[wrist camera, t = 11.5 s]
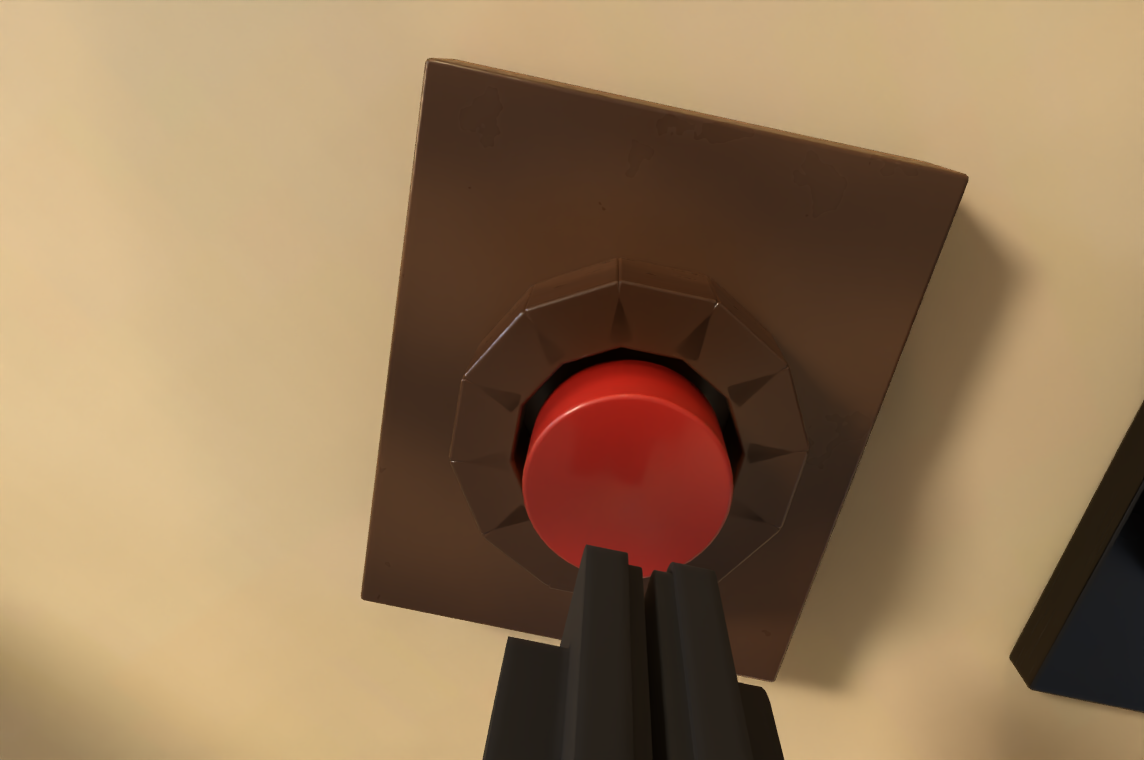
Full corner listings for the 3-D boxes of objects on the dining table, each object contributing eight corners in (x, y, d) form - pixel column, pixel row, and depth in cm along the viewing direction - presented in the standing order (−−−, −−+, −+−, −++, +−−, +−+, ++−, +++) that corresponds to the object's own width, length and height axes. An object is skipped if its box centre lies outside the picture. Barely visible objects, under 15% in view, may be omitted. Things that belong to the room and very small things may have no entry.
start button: (551, 339, 14) (542, 374, 13) (745, 380, 14) (760, 420, 13) (517, 507, 16) (504, 559, 14) (693, 543, 16) (703, 599, 14)
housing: (449, 58, 16) (398, 55, 12) (928, 161, 16) (1020, 190, 12) (385, 547, 20) (332, 654, 17) (760, 623, 21) (790, 746, 17)
